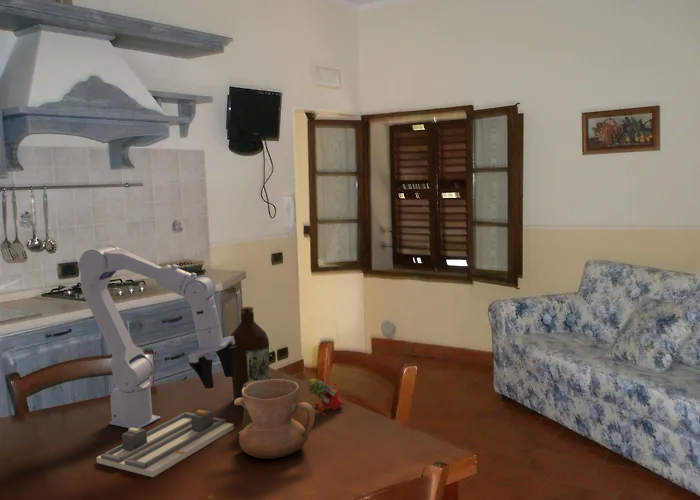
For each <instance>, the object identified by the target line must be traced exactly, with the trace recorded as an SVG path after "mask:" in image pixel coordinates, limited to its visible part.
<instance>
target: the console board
mask: <svg viewBox="0 0 700 500" xmlns="http://www.w3.org/2000/svg"><path fill="white" fill-rule="evenodd" d="M194 414H195V413H193V412H189V411H188V412H187V411H185V412H183V413H181V414H178V415H177V416H175V417H173V418H171V419H168V420H167V421H165V422H163V423H161V424H159V425H157V426H155V427H152V428H151V429H150V430H148V431H147V430H146V434H147V443H145V444H144V445H142V446H140V447H138V448H136V449H134V450H132V451H129V450H125V449H123V443H121V444H120V445H117V446H115V447H113V448H111V449H109V450H108V451H107V450H106V451H105V452H104V453H102V454H100V455H98V456H97V457H96V463H97V464H100V465H104V466H107V467H108V466H109V467H112V468H116V469H119V470H124V471H126V472H131V473H135V474H139V475H143V476H148V477H151V478H154V477H157V476H158V475H159V474H161V473H162V472H164V471H166V470H167V469H170V468H171V467H172V466H175V465H177V464H178V463H179V462H181V461H182V460H184V459H186V458H188V457H189V456H191V455H192V454H194V453H196V452H198V451H199V450H201V449H203V448H204V447H207V446H208V445H209V444H211V443H213V442H214V441H216V440H218V439H219V438H221V437H223V436H224V435H226V434H228V433H229V432H231V431H233V430H234V429H235V426H234V423H230V422H226V418H220V417H214V416H213V423H214V424H213V425H211V426H210V427H208V428H206V429H204V430H203V431H201V432H199V431H194V430H192V420H191V416H192V415H194Z"/></svg>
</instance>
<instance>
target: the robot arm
mask: <svg viewBox="0 0 700 500" xmlns="http://www.w3.org/2000/svg"><path fill="white" fill-rule="evenodd" d="M77 262H78V263H77V265H76V266H77V268H78V270H79V273H80V289H81V292H82V294H83V296H84V299H85V301H86V303H87V305H88V307H89V309H90V311H91V314H92V315H93V318H94V320H95V321H96V324H97V326H98V328H99V330H100V332H101V335H102V337H103V338H104V341H105V343H106V345H107V347H108V349H109V351H110V353H111V354H112V355H111V361H110V364H109V365H110V366H109V367H110V369H111V372H112V381H113V384H114V386H115V387H114V388H113V390H112V392H111V394H110V412H111V421H109V424H110V425H113V426H117V427H122V428H127V429H129V428H131V427H133V428H136V427H138V428H142V429H143V427H146V426H147V425H150V424H151V423H153V422H156V421H158V420H159V419H161V416H160V415H155V414H153V406H152V405H153V404H152V393H151V382H150V381H151V377H152V376H153V374H154V369H155V367H154V363H153V361H152V360H151V358H149V357H148V356H147V355H146V354H145V353H144V350H143V349H142V348H140V347H139V346H136V345H135V344H134V342H133V340H132V338H131V336H130V334H129V331H128V329H127V327H126V324H125V322H124V321H123V319H122V316H121V315H120V314H121V313H120V311H119V310H118V308H117V305H116V304H115V302H114V300H113V297H112V296H111V294H110V292H109V289H108V286H109V284H110V282H111V279H112V278H113V276H114V275H115V273H117V271H122V270H127V271H129V272H132V273H135V274H138V275H141V276H143V277H147V278H149V279H152V280H155V281H156V284H157V285H158V287H159V288H160V289H161V288H162V289H164V290H166V291H169V292H170V293H174V294H176V295H178V296H180V297H184V300H185V301H186V302H187V303H188V304H189V305H190V309H191V314H192V318H193V322H194V323H193V324H194V326H195V332H196V336H197V337H196V338H197V341H198V348H196V349H195V350H194V351H192V352H191V353H189V354H187V357H188V363H189V364H188V365H189V367H191V369H193V370H194V372H195V373H196V374H197V376H198V377H199V379H200V381H201V382H202V385H203V386H204V388H205V389H212V388H214V379H213V362H214V361H213V359H208V358H206V357H208V356H211V355H213V354H214V353H216V355H217V357H218V358H219V362H220V365H221V367H222V371H223V373H224V377H225V378H232V377H233V376H234V360H235V355H236V352H237V346H236V345H233V344H235V340H234V336H231V335H229V336H225V337H223V333H222V328H221V325H220V324H221V323H220V319H219V313H218V309H217V304H216V301H215V296H214V295H215V293H216V289H217V288H216V284H215V282H214V280H213V279H212V278H210V277H209V276H207V275H205V274H204V275H199V276H197V273H196V272H189V271H187V270H183V269H181V268H179V267H180V266H179V265H178V264H175V263H173V264H167V265H165V266H160V265H158V264H157V263H154V262H152V261H149V260H147V259H146V258H145V259H144V258H143V257H141V256H139V255H136V254H134V253H132V252H131V251H128V250H127V249H125V248H121V247H117V246H116V245H110V244H108V245H106V246H103V247H99V248H94V249H93V248H91V249H86V251H84V252H83V253H82V255H81V256H80V258H79V261H77ZM232 345H233V346H232Z"/></svg>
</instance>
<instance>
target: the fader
mask: <svg viewBox="0 0 700 500" xmlns="http://www.w3.org/2000/svg"><path fill="white" fill-rule="evenodd" d="M127 429H128V431H126V432H123V433H122V434H121V437H122V444H123V449H125V450H129V451H132V450H134V449H136V448H138V447H140V446H142V445H144V444H145V443H147V434H146V432H147V429H146V428H143V427H142V428H138V427H136V428H133V427H131V428H127Z"/></svg>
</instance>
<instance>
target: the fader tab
mask: <svg viewBox="0 0 700 500" xmlns="http://www.w3.org/2000/svg"><path fill="white" fill-rule="evenodd" d="M213 417H214V411H211V410H205V409H198V410H196V413H194V415H192V416H191V420H192V430H194V431H199V432H201V431H203V430H204V429H206V428H208V427H210V426H211V425H213V424H214V423H213Z"/></svg>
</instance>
